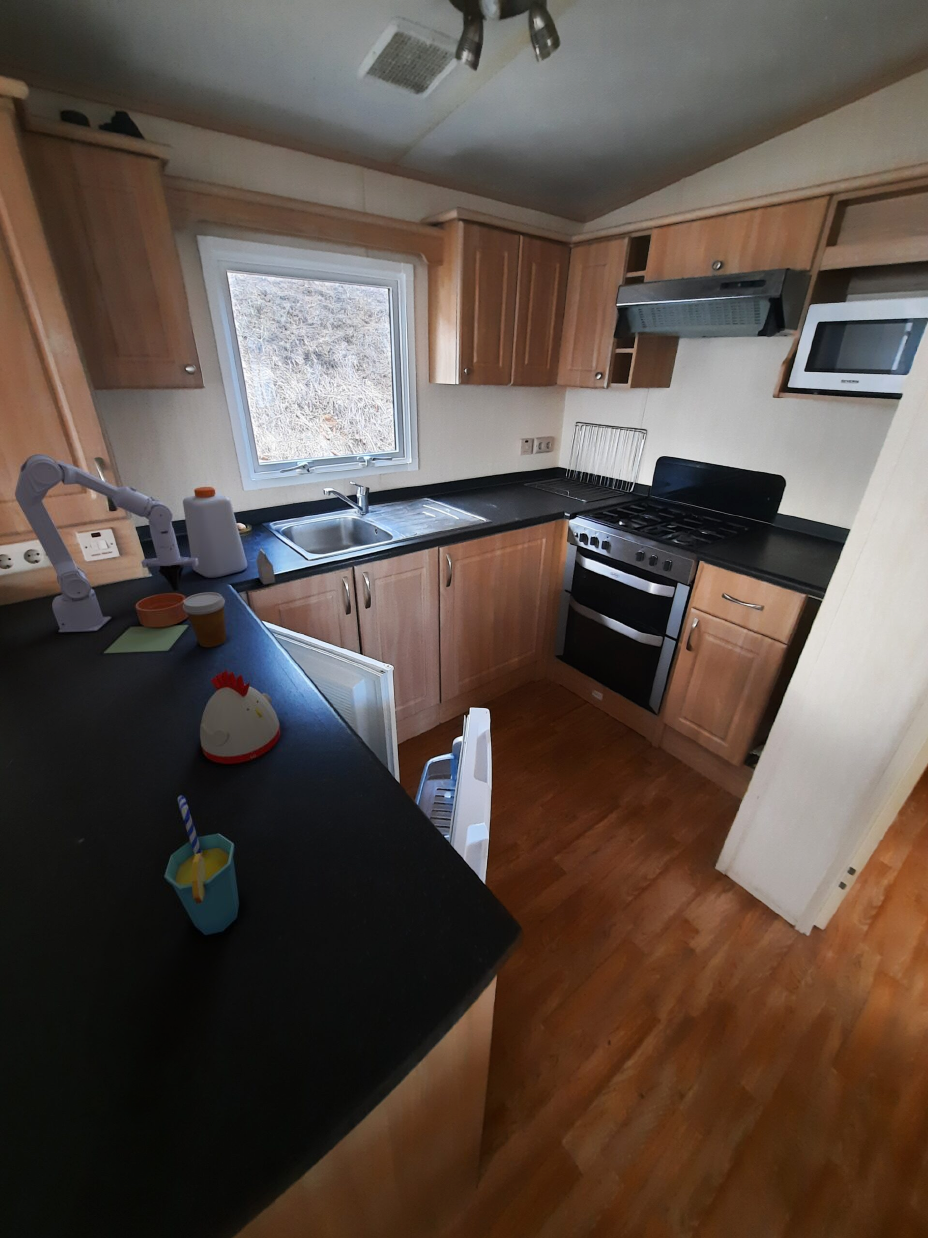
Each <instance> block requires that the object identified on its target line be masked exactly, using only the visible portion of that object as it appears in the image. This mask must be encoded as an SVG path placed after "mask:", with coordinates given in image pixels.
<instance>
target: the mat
mask: <svg viewBox="0 0 928 1238" xmlns="http://www.w3.org/2000/svg"><path fill="white" fill-rule="evenodd" d="M188 627H189V624H178V625H177V624H175V625H171V626H167V627H159V628H155V627H147V626H130V627H129V628H128V629H126V630H125V631H124V633H123V634H122V635H120V636H119V637H118V638H117V639H116V640H115V641H114V642H113V643H112V644H111V645H110V646H109V647H108V648H107V649H106V650H104V652H103V654H118V653H119V654H120V653H121V654H123V653H144V652H168V651H169V650H170V649H171V648H172V647H173V646H174V645H175V643H176V641H178V639H180V637H181V636H182V634H184V632H185V631H186V630H187V629H188Z"/></svg>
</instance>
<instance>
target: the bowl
mask: <svg viewBox="0 0 928 1238" xmlns="http://www.w3.org/2000/svg"><path fill="white" fill-rule="evenodd" d="M186 598H187V597H186V595H184V594H182V593H177V592H166V593H165V592H163V593H157V594H154V595H150V596H147V597H145V598H143V599H140V600H138V601H137V602H136V604H135V610H136V614H137V618H138V621H139V624H140V625H141V626H142V627H144V626H147V627H155V628H159V627H167V626H173V625H177V624H179V623H181V622H183V621H184V620H186V619H187V618H189V617H188V615H187V612H185V610H184V609H183V605H184V600H185V599H186Z"/></svg>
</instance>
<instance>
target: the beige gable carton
mask: <svg viewBox="0 0 928 1238" xmlns="http://www.w3.org/2000/svg"><path fill="white" fill-rule="evenodd" d="M255 563H256V568H257V569H256V570H257V574H258V579H259V580H260V582H261V583H262V584H263V585H268V584H269V585H270V584H274V583H276V578H275V577H276V576H275V572H274V565H273V563H272V562H271V561H270V560H269V558H268V556H267V555H266V553H265V551H264V550H263V549H262V548H259V550H258V554H257V558H256V561H255Z"/></svg>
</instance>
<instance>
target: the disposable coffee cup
mask: <svg viewBox="0 0 928 1238" xmlns="http://www.w3.org/2000/svg"><path fill="white" fill-rule="evenodd" d="M225 604H226V599H225V598H224V597H223V596H222V594H221V593H218V592H213V591H211V592H209V591H206V592H200V593H199V592H198V593H195V594H192V595H189V596H188V597H186V599H185V600H184V605H183V609H184V610H185V612H187V615H188V617H187V618H188V619H189V623H190V624H191V627H192V630H193V632H194V634H195V636H196V639H197V641H198V644H199V646H201V647H203V648H213V647H218V646H220V645H222V644H225V642H226V641H227V631H226V616H225Z"/></svg>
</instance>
